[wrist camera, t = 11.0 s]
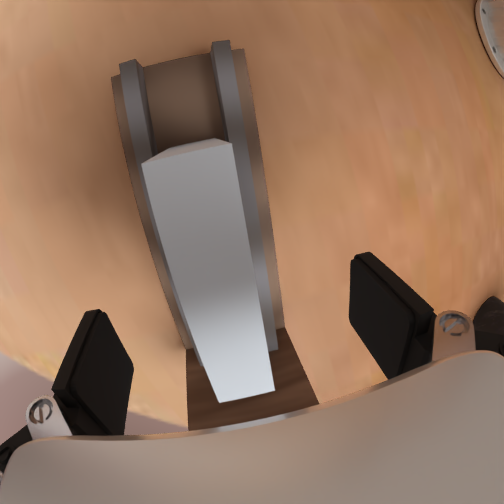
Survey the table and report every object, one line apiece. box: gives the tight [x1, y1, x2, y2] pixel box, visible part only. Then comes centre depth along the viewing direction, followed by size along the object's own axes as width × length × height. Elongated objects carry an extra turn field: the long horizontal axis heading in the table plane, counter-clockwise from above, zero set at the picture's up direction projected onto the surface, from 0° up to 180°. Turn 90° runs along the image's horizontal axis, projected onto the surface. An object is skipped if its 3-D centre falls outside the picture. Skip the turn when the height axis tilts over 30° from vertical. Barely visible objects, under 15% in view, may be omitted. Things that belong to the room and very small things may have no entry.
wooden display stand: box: [111, 40, 319, 431], centre depth 15 cm, size 24×9×16 cm, turn 9°
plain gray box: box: [141, 138, 275, 403], centre depth 16 cm, size 12×3×10 cm, turn 9°
